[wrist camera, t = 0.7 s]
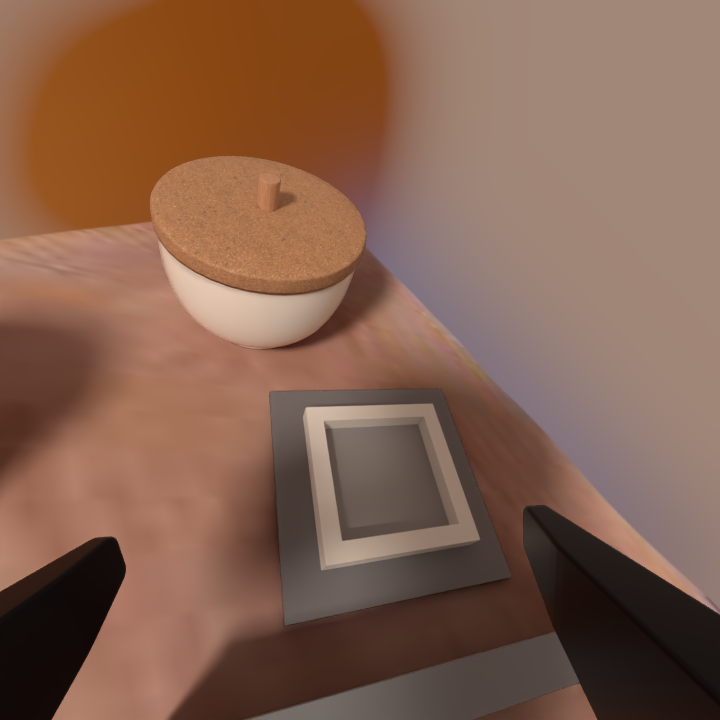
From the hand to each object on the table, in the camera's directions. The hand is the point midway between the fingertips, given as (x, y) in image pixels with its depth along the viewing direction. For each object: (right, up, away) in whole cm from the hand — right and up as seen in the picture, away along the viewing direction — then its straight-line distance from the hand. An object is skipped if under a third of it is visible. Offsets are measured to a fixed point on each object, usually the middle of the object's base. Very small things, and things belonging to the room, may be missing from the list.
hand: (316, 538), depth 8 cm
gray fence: (+4, -12, +10) cm, 16 cm away
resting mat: (+2, -4, +16) cm, 16 cm away
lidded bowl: (-7, +7, +22) cm, 24 cm away
